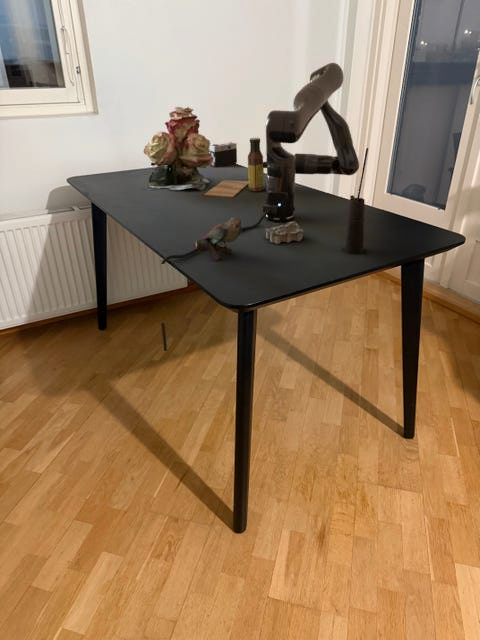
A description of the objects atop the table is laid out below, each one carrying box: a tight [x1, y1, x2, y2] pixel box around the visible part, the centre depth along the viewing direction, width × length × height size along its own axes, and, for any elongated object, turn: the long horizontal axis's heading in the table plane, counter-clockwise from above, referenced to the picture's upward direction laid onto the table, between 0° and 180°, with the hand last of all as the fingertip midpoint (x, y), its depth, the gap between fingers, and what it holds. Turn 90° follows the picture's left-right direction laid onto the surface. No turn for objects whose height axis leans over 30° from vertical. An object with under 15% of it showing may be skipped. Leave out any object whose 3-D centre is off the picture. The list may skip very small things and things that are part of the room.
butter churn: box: [344, 147, 369, 255], centre depth 125 cm, size 9×10×28 cm
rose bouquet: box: [143, 106, 213, 191], centre depth 191 cm, size 26×29×30 cm
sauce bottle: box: [247, 137, 265, 193], centre depth 184 cm, size 6×6×20 cm
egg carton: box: [264, 220, 305, 245], centre depth 139 cm, size 11×8×4 cm
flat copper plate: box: [204, 179, 249, 199], centre depth 190 cm, size 24×12×1 cm, turn 163°
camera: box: [209, 141, 238, 168], centre depth 230 cm, size 14×8×10 cm, turn 130°
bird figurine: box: [195, 216, 243, 261], centre depth 126 cm, size 13×10×20 cm
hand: (264, 162), depth 182 cm, fingers open, 8 cm apart
